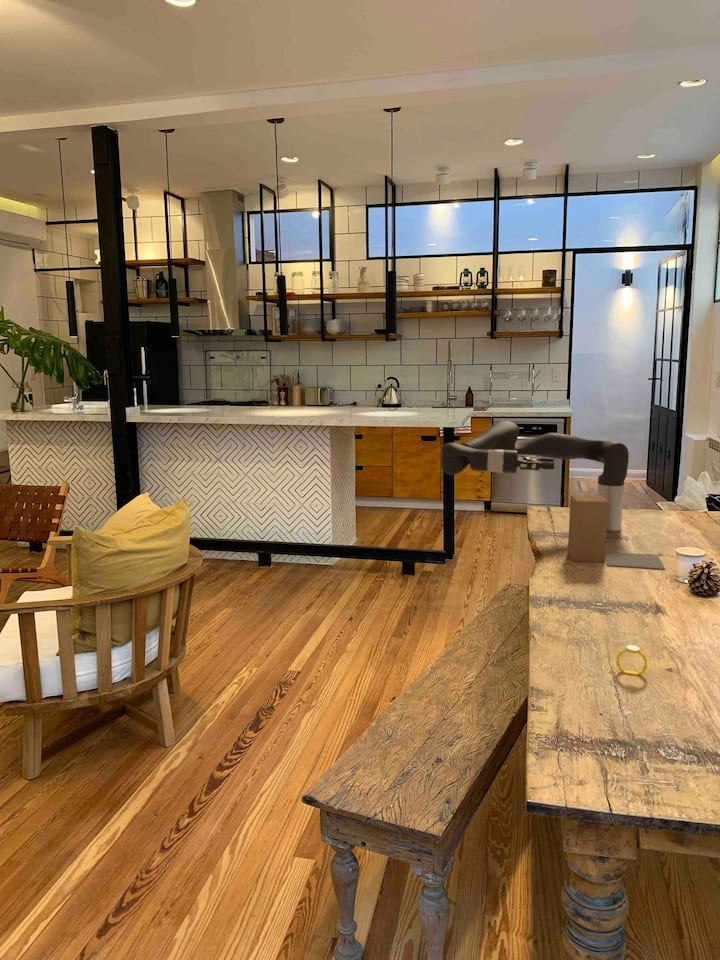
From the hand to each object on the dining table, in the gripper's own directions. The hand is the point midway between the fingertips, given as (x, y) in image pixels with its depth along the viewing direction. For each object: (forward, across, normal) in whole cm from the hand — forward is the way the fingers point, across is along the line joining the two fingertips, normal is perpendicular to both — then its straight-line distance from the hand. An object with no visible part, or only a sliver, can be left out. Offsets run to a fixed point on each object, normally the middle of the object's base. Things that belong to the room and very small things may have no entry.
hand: (553, 463), depth 232 cm
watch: (+17, +85, -31) cm, 92 cm away
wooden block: (+12, 0, -31) cm, 33 cm away
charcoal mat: (+27, 0, -30) cm, 40 cm away
